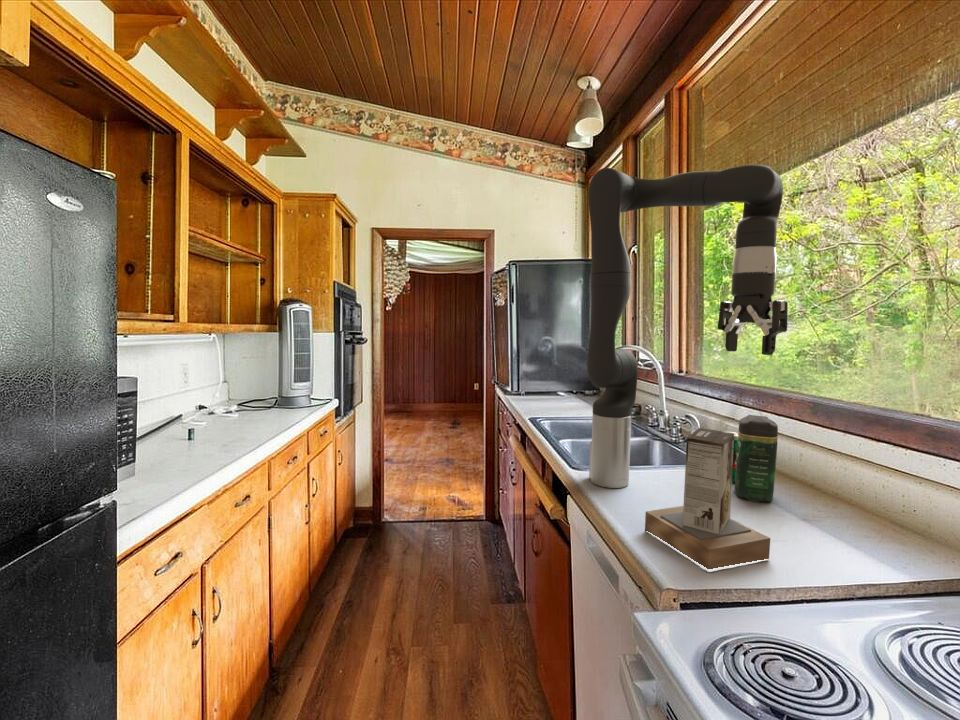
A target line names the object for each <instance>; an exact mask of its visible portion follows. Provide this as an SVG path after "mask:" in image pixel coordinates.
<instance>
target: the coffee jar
mask: <svg viewBox="0 0 960 720" xmlns="http://www.w3.org/2000/svg"><path fill="white" fill-rule="evenodd" d="M738 423H739V424H738V432H737V433H738V447H737V462H736V476H735V483H734V492H735V494H736V495H737V496H738V497H740V498H743V499H745V500H749V501H752V502H757V503H758V502H759V503H760V502H771V501H772V500H773V498H774V490H775V480H776V479H775V478H776V468H777V454H778V440H779V439H778V437H779V436H778V435H779V427H778V424H777V423H776V422H775V421H774V420H772V419H770V418H769V417H768V416H765V415H753V414H748V415H746V416H744V417H742V418H740V419H739V421H738Z"/></svg>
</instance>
